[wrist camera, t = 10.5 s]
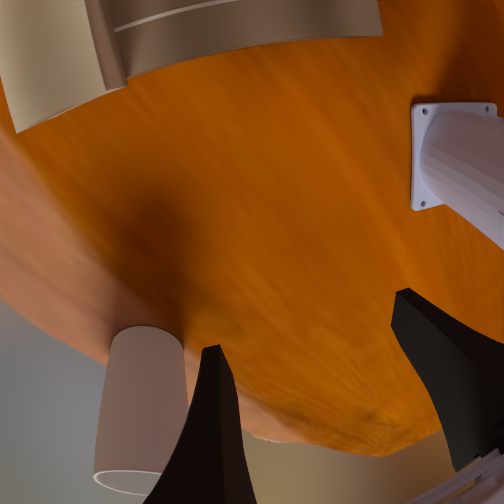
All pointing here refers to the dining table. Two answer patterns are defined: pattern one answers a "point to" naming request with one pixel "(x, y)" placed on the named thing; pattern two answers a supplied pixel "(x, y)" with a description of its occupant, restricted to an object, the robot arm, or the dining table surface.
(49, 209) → the dining table surface
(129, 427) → the mug
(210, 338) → the dining table surface
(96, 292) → the dining table surface
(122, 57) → the plank
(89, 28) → the stepped beige block
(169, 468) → the robot arm
